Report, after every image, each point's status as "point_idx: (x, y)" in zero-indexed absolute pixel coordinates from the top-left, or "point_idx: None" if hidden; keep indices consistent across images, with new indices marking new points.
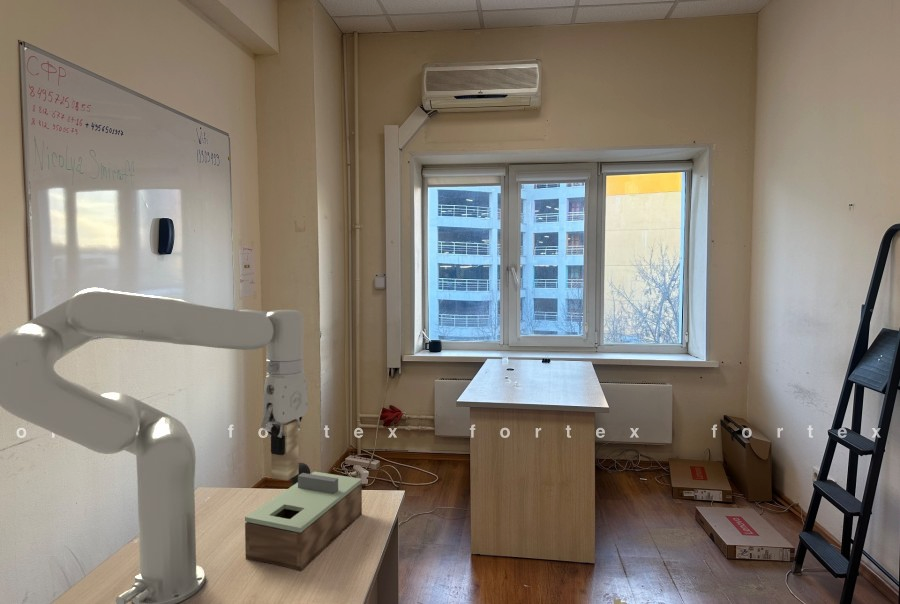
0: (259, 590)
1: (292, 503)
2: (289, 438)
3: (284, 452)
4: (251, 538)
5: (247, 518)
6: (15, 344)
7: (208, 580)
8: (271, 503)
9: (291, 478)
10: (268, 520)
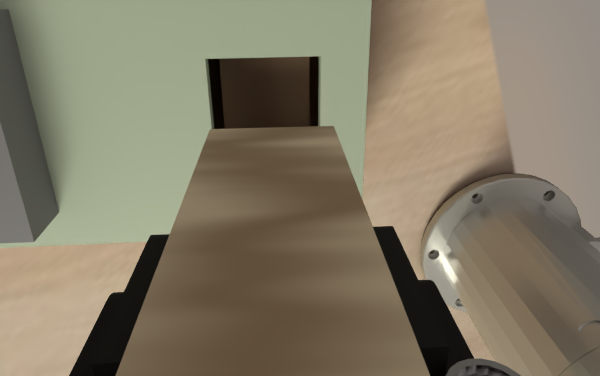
0: (460, 23)
1: (193, 139)
2: (348, 296)
3: (377, 233)
4: None
5: None
6: None
7: (449, 186)
8: None
9: None
10: (358, 134)
